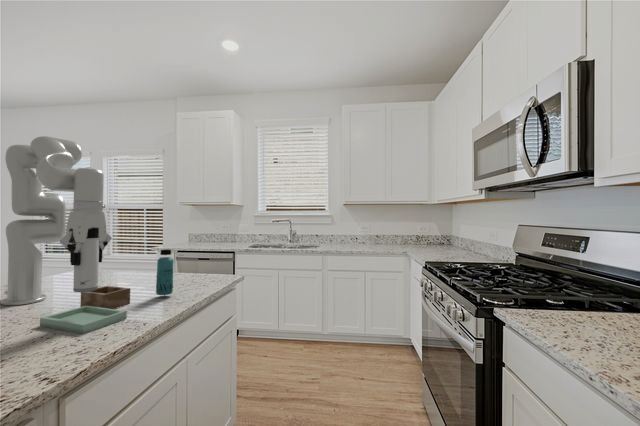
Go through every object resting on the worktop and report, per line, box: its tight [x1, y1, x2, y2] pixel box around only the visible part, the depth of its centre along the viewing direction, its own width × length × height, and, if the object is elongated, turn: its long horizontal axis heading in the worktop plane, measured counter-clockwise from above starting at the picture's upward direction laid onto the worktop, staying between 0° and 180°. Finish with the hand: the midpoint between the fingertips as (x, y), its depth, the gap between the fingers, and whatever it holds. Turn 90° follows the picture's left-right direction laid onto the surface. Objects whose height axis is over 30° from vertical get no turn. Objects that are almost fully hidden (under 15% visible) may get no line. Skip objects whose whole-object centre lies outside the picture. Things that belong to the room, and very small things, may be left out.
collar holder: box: [80, 285, 131, 309], centre depth 115 cm, size 11×10×6 cm
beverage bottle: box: [155, 248, 175, 296], centre depth 130 cm, size 6×7×20 cm
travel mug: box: [72, 228, 100, 293], centre depth 98 cm, size 6×7×20 cm
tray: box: [39, 305, 128, 335], centre depth 98 cm, size 18×14×2 cm
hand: (86, 263), depth 98 cm, fingers closed on travel mug, 6 cm apart
